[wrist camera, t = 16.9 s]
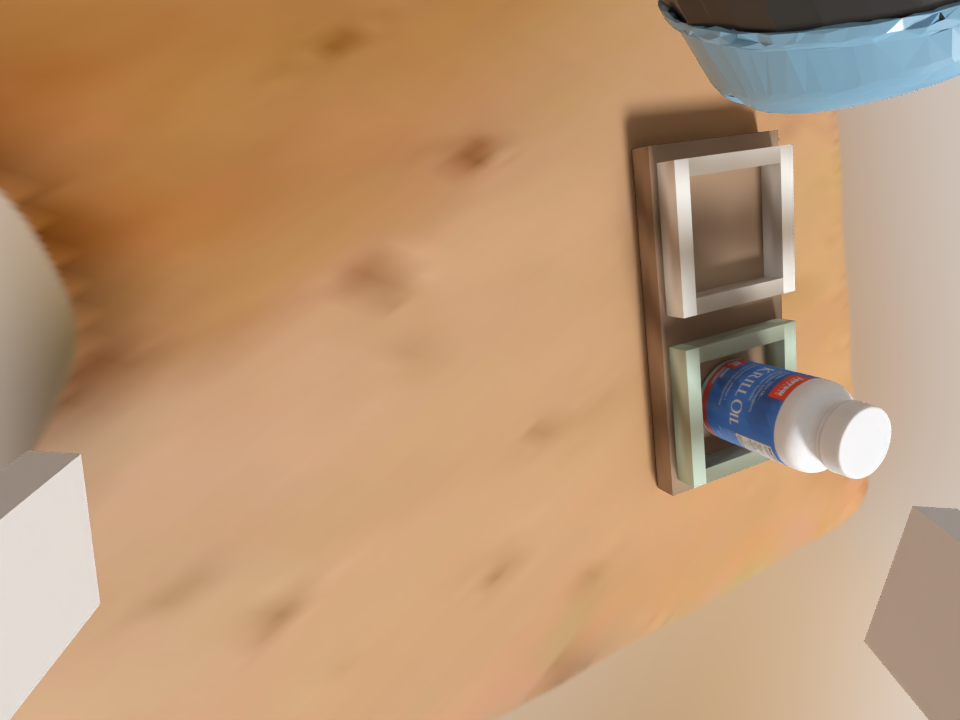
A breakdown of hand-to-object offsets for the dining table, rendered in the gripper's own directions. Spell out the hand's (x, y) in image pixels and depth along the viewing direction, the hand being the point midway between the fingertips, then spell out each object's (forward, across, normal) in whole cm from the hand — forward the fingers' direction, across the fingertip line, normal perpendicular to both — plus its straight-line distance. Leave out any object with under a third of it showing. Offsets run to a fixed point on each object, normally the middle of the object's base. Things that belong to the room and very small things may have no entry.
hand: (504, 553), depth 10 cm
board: (+31, +16, -3) cm, 35 cm away
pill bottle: (+29, +18, -8) cm, 35 cm away
